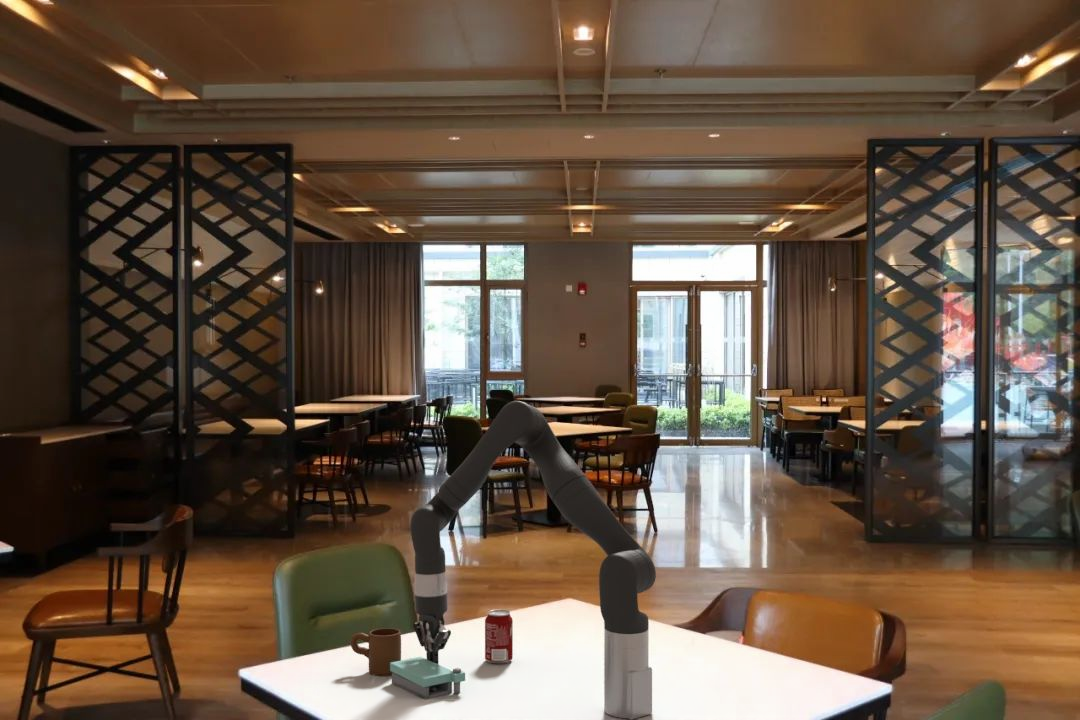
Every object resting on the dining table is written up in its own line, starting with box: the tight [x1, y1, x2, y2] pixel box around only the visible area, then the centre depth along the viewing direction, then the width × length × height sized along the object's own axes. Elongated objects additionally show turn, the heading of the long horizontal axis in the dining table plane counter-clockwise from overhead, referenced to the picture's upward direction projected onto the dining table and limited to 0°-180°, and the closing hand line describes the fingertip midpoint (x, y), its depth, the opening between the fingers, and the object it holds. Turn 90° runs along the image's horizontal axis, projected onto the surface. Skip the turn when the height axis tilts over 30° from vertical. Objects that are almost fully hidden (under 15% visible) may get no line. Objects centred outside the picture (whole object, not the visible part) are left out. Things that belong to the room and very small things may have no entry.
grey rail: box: [391, 672, 461, 700], centre depth 217 cm, size 16×8×2 cm, turn 39°
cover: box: [390, 656, 466, 687], centre depth 217 cm, size 17×10×2 cm, turn 37°
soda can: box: [484, 609, 514, 665], centre depth 237 cm, size 7×7×12 cm
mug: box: [349, 627, 402, 677], centre depth 229 cm, size 12×8×9 cm, turn 89°
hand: (432, 666), depth 223 cm, fingers closed
